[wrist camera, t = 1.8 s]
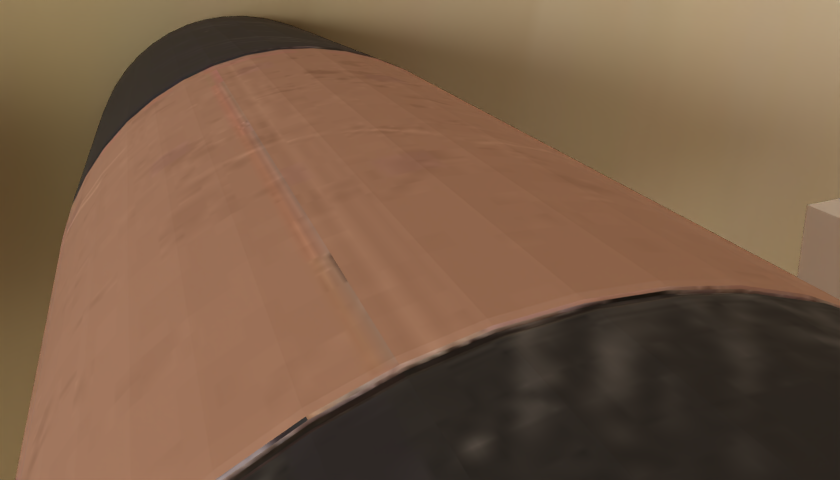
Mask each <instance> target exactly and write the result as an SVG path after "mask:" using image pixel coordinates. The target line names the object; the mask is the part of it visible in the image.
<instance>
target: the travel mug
mask: <svg viewBox="0 0 840 480" xmlns="http://www.w3.org/2000/svg"><path fill="white" fill-rule="evenodd" d="M15 480H840V300H839V299H837V298H835V297H833V296H832V295H830V294H828V293H826V292H824V291H822V290H820V289H818V288H816V287H815V286H813V285H811V284H809V283H807V282H805V281H803V280H801V279H799V278H798V277H796V276H794V275H792V274H790V273H788V272H786V271H784V270H782V269H781V268H779V267H777V266H775V265H773V264H771V263H769V262H767V261H765V260H764V259H762V258H760V257H758V256H756V255H754V254H752V253H750V252H748V251H747V250H745V249H743V248H741V247H739V246H737V245H735V244H733V243H731V242H730V241H728V240H726V239H724V238H722V237H720V236H718V235H716V234H714V233H712V232H711V231H709V230H707V229H705V228H703V227H701V226H699V225H697V224H695V223H694V222H692V221H690V220H688V219H686V218H684V217H682V216H680V215H678V214H677V213H675V212H673V211H671V210H669V209H667V208H665V207H663V206H661V205H660V204H658V203H656V202H654V201H652V200H650V199H648V198H646V197H644V196H643V195H641V194H639V193H637V192H635V191H633V190H631V189H629V188H627V187H626V186H624V185H622V184H620V183H618V182H616V181H614V180H612V179H610V178H609V177H607V176H605V175H603V174H601V173H599V172H597V171H595V170H593V169H592V168H590V167H588V166H586V165H584V164H582V163H580V162H578V161H576V160H575V159H573V158H571V157H569V156H567V155H565V154H563V153H561V152H559V151H558V150H556V149H554V148H552V147H550V146H548V145H546V144H544V143H542V142H541V141H539V140H537V139H535V138H533V137H531V136H529V135H527V134H525V133H524V132H522V131H520V130H518V129H516V128H514V127H512V126H510V125H508V124H507V123H505V122H503V121H501V120H499V119H497V118H495V117H493V116H491V115H490V114H488V113H486V112H484V111H482V110H480V109H478V108H476V107H474V106H473V105H471V104H469V103H467V102H465V101H463V100H461V99H459V98H457V97H456V96H454V95H452V94H450V93H448V92H446V91H444V90H442V89H440V88H439V87H437V86H435V85H433V84H431V83H429V82H427V81H425V80H423V79H422V78H420V77H418V76H416V75H414V74H412V73H410V72H408V71H406V70H404V69H402V68H399V67H397V66H395V65H392V64H390V63H387V62H385V61H382V60H380V59H377V58H374V57H372V56H369V55H367V54H364V53H361V52H359V51H356V50H354V49H351V48H348V47H346V46H343V45H341V44H338V43H335V42H333V41H330V40H328V39H325V38H322V37H320V36H317V35H314V34H312V33H309V32H307V31H304V30H301V29H299V28H296V27H294V26H291V25H288V24H284V23H281V22H277V21H273V20H269V19H264V18H256V17H247V16H230V17H218V18H212V19H206V20H202V21H199V22H195V23H192V24H189V25H186V26H184V27H181V28H179V29H177V30H175V31H173V32H171V33H169V34H167V35H166V36H164V37H162V38H161V39H159V40H158V41H156V42H155V43H153V44H152V45H151V46H149V47H148V48H147V49H146V50H145V51H144V52H142V53H141V54H140V55H139V56H138V57H137V58H136V59H135V61H134V62H133V63H132V64H131V65H130V66H129V67H128V69H127V70H126V71H125V72H124V74H123V75H122V77H121V78H120V80H119V81H118V83H117V84H116V86H115V88H114V90H113V92H112V94H111V96H110V98H109V100H108V103H107V105H106V107H105V110H104V112H103V114H102V117H101V120H100V123H99V126H98V129H97V132H96V135H95V138H94V141H93V144H92V147H91V150H90V153H89V156H88V159H87V162H86V165H85V168H84V171H83V174H82V177H81V180H80V182H79V185H78V188H77V191H76V194H75V197H74V201H73V204H72V207H71V211H70V214H69V218H68V221H67V224H66V228H65V231H64V235H63V238H62V243H61V249H60V254H59V259H58V264H57V269H56V274H55V279H54V284H53V289H52V294H51V299H50V305H49V310H48V315H47V320H46V325H45V330H44V335H43V340H42V345H41V350H40V355H39V361H38V366H37V371H36V376H35V381H34V386H33V391H32V396H31V401H30V406H29V411H28V417H27V422H26V427H25V432H24V437H23V442H22V447H21V452H20V457H19V462H18V468H17V473H16V478H15Z"/></svg>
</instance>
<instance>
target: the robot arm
mask: <svg viewBox="0 0 840 480" xmlns="http://www.w3.org/2000/svg"><path fill="white" fill-rule="evenodd" d="M797 277H798V278H799V279H801V280H803V281H805V282H807V283H809V284H811V285H813V286H815V287H816V288H818V289H820V290H822V291H824V292H826V293H828V294H830V295H832V296H833V297H835V298H837V299H839V300H840V198H839V199H834V200H829V201H824V202H819V203H814V204H809V205H807V210H806V217H805V224H804V231H803V239H802V246H801V253H800V260H799V267H798V275H797Z"/></svg>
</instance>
